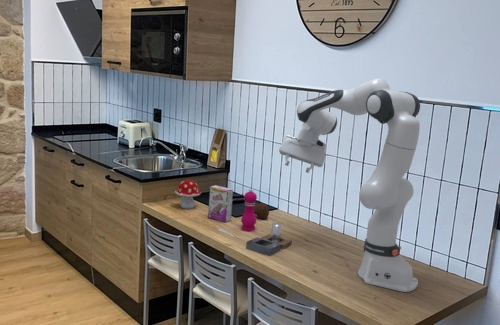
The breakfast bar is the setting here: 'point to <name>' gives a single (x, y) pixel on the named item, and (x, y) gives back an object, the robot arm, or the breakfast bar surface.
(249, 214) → the pepper mill
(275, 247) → the socket block
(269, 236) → the wooden picture frame
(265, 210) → the brown rounded lump
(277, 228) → the steel axle
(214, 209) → the candy bar box
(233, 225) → the breakfast bar surface
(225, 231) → the butter knife
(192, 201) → the decorative mushroom
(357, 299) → the breakfast bar surface
